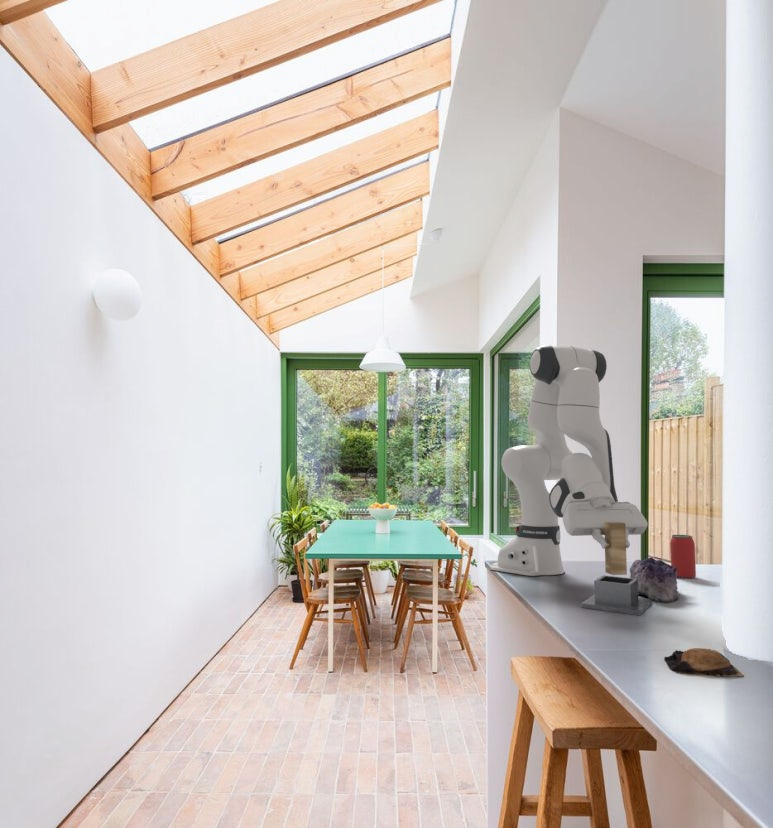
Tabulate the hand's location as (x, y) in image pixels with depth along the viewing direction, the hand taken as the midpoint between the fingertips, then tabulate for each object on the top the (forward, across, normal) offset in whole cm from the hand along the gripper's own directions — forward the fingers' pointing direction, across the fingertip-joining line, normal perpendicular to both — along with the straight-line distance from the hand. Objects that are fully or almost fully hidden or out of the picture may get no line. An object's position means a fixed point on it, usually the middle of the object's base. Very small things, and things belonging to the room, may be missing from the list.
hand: (616, 546), depth 143 cm
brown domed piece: (+39, +8, +19) cm, 44 cm away
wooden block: (+4, 0, -5) cm, 6 cm away
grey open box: (+9, 0, -10) cm, 14 cm away
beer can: (-11, -37, -31) cm, 50 cm away
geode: (+3, -17, -18) cm, 24 cm away
